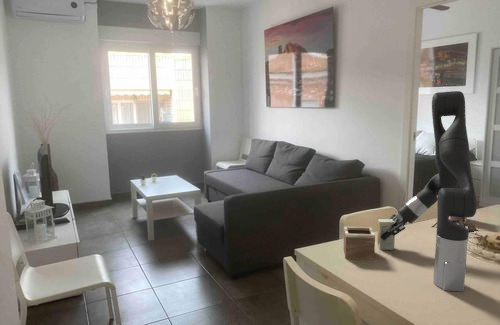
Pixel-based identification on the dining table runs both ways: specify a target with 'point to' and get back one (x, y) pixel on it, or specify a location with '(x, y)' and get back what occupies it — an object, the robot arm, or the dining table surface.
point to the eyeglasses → (461, 222)
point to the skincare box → (382, 228)
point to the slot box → (359, 243)
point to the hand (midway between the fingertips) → (381, 236)
